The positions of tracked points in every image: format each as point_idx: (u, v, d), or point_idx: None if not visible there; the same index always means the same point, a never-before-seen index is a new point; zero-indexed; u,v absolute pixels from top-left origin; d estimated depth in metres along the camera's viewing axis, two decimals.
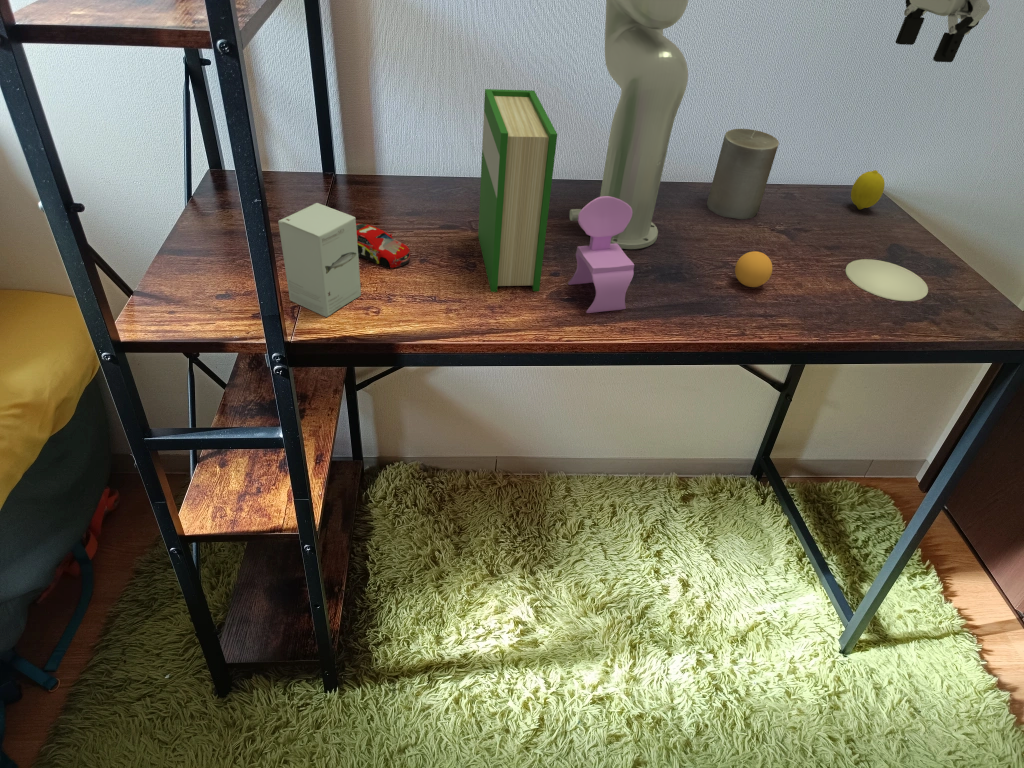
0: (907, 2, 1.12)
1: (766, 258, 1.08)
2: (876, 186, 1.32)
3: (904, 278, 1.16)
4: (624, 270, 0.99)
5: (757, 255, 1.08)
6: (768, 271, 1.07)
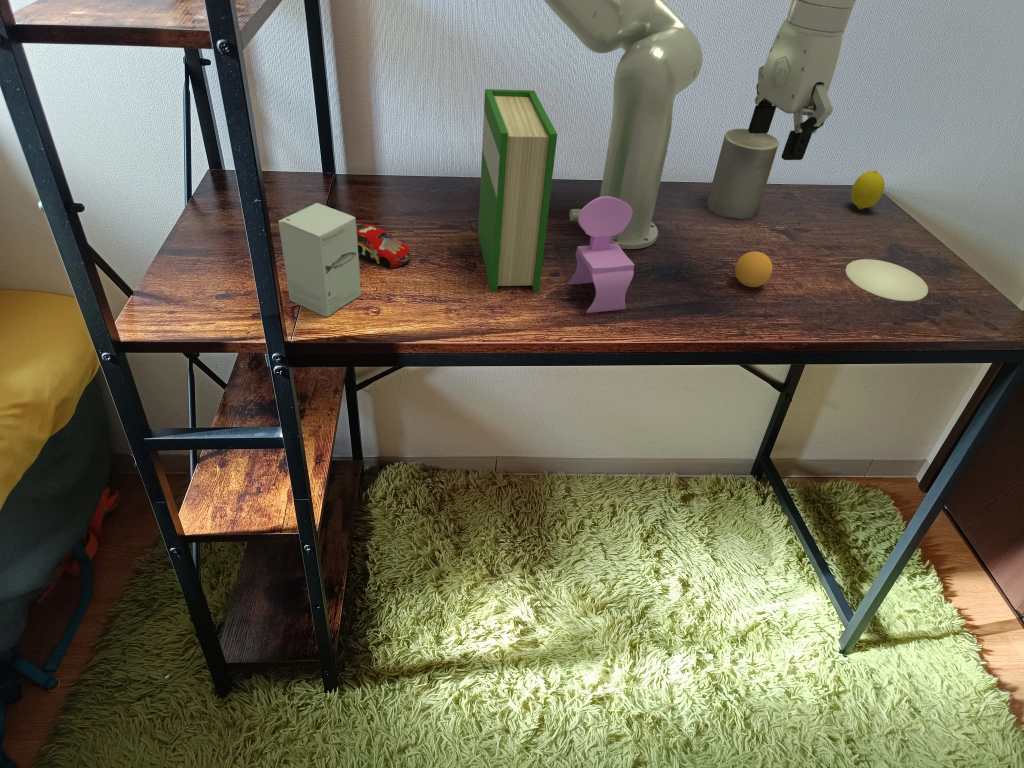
0: (758, 89, 1.03)
1: (766, 258, 1.08)
2: (876, 186, 1.32)
3: (904, 278, 1.16)
4: (624, 270, 0.99)
5: (757, 255, 1.08)
6: (768, 271, 1.07)
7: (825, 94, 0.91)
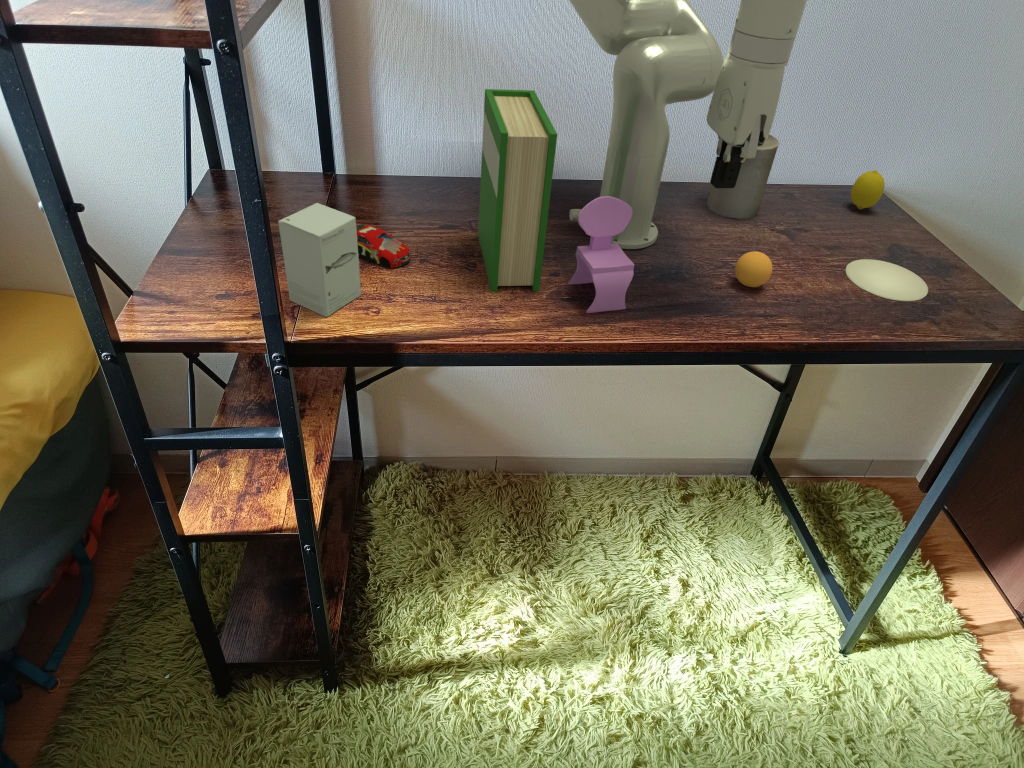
0: None
1: (766, 258, 1.08)
2: (876, 186, 1.32)
3: (904, 278, 1.16)
4: (624, 270, 0.99)
5: (757, 255, 1.08)
6: (768, 271, 1.07)
7: (757, 137, 0.90)
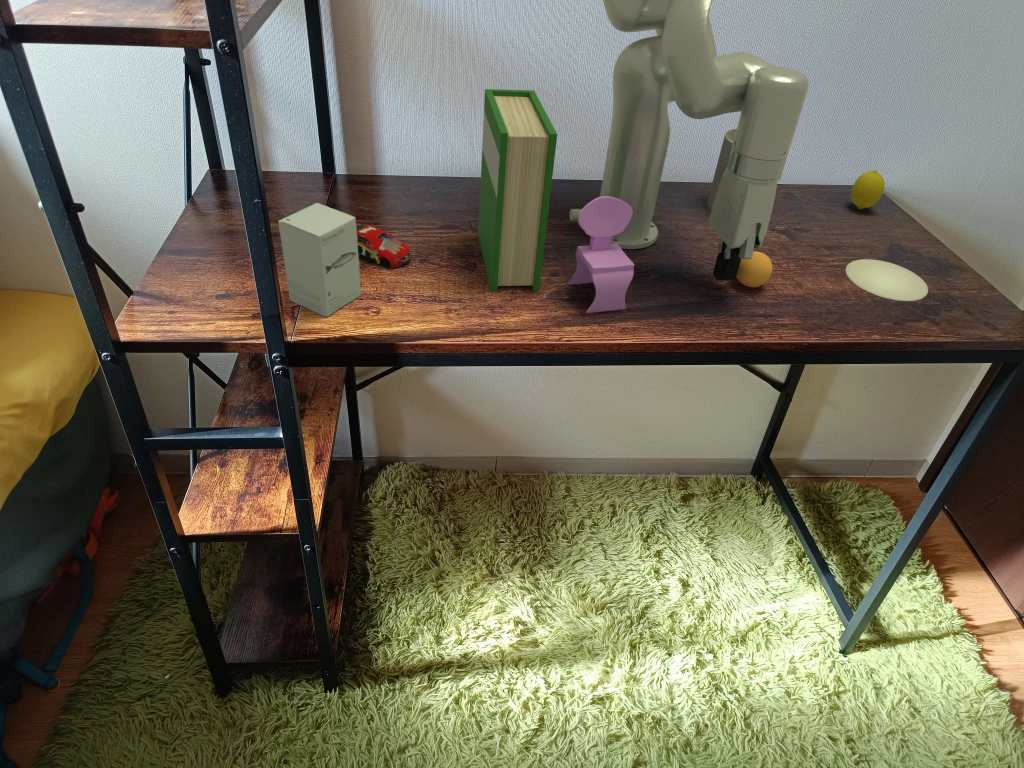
0: None
1: (766, 258, 1.08)
2: (876, 186, 1.32)
3: (904, 278, 1.16)
4: (624, 270, 0.99)
5: (757, 255, 1.08)
6: (768, 271, 1.07)
7: (753, 241, 1.00)
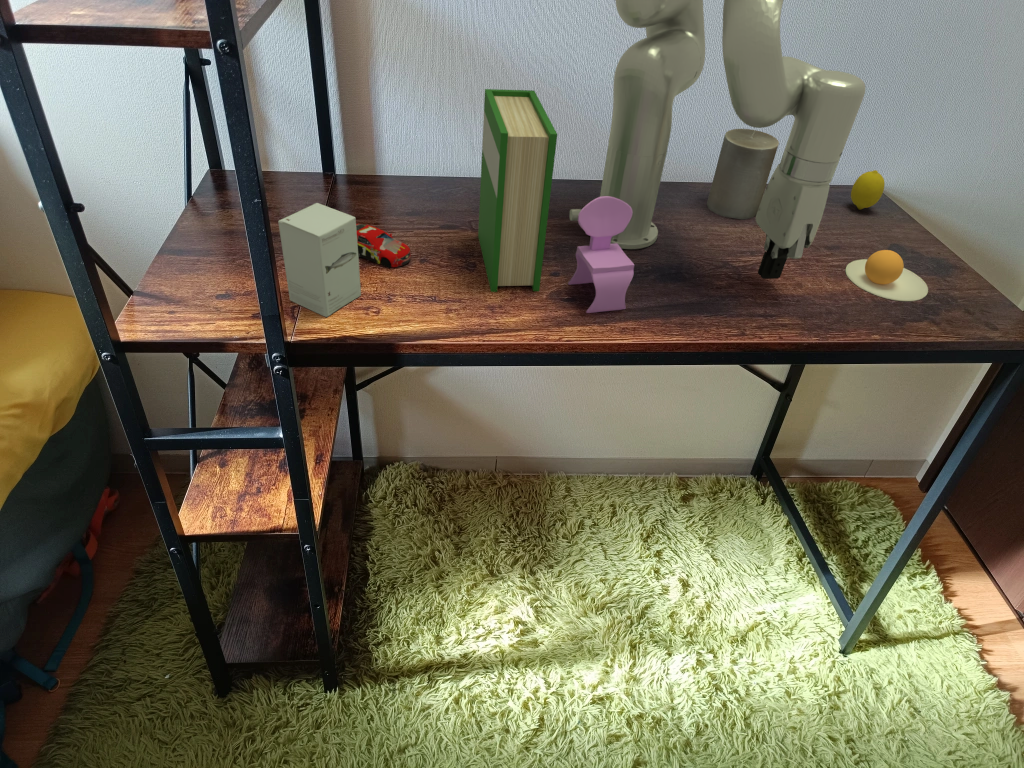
0: (767, 236, 1.09)
1: None
2: (876, 186, 1.32)
3: (904, 278, 1.16)
4: (624, 270, 0.99)
5: None
6: (893, 281, 1.13)
7: (803, 241, 1.02)
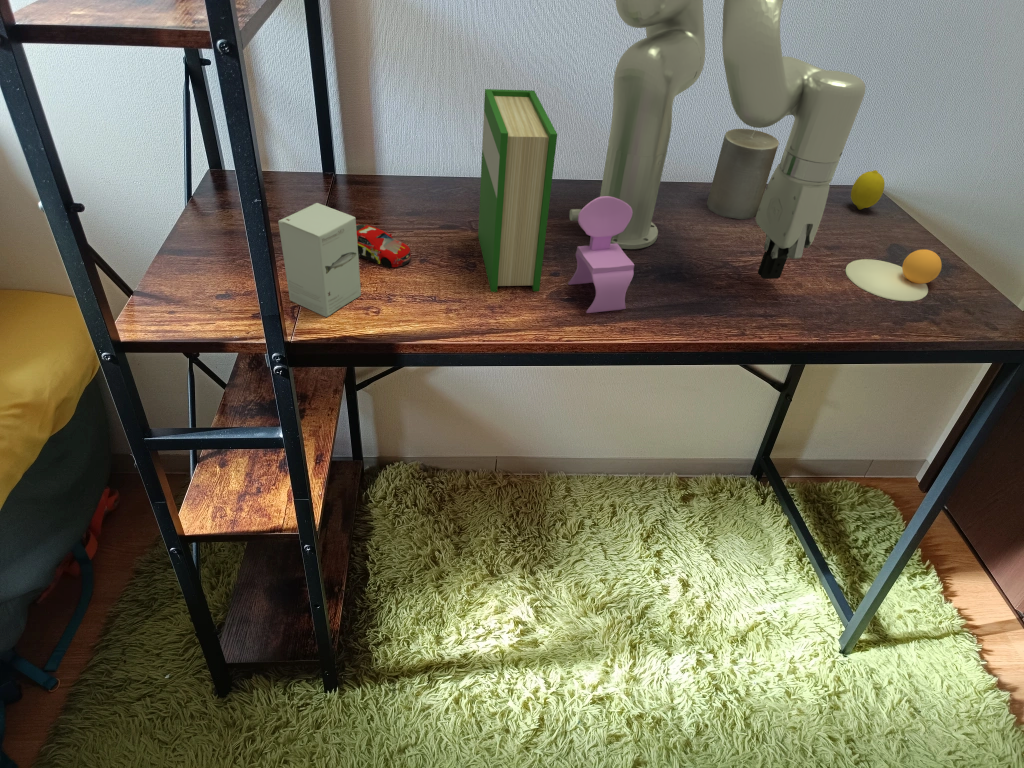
0: (767, 236, 1.09)
1: (910, 271, 1.14)
2: (876, 186, 1.32)
3: (904, 278, 1.16)
4: (624, 270, 0.99)
5: (907, 277, 1.15)
6: (923, 272, 1.12)
7: (803, 241, 1.02)
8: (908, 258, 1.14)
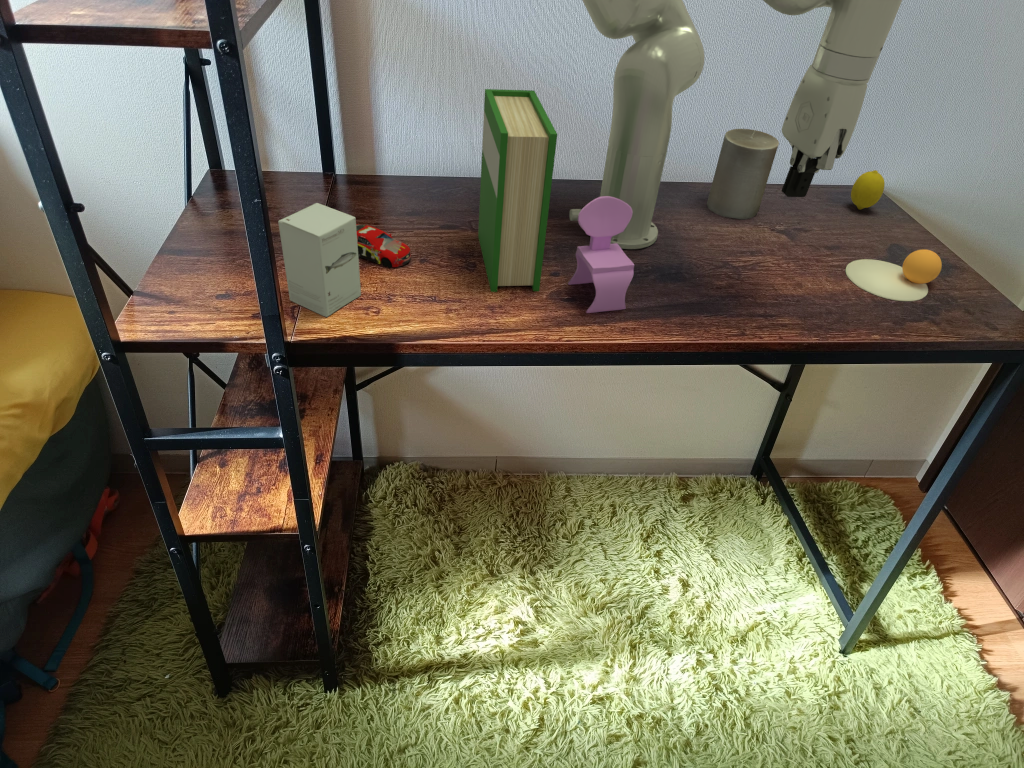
0: None
1: (910, 271, 1.14)
2: (876, 186, 1.32)
3: (904, 278, 1.16)
4: (624, 270, 0.99)
5: (907, 277, 1.15)
6: (924, 272, 1.12)
7: (835, 150, 0.94)
8: (908, 258, 1.14)
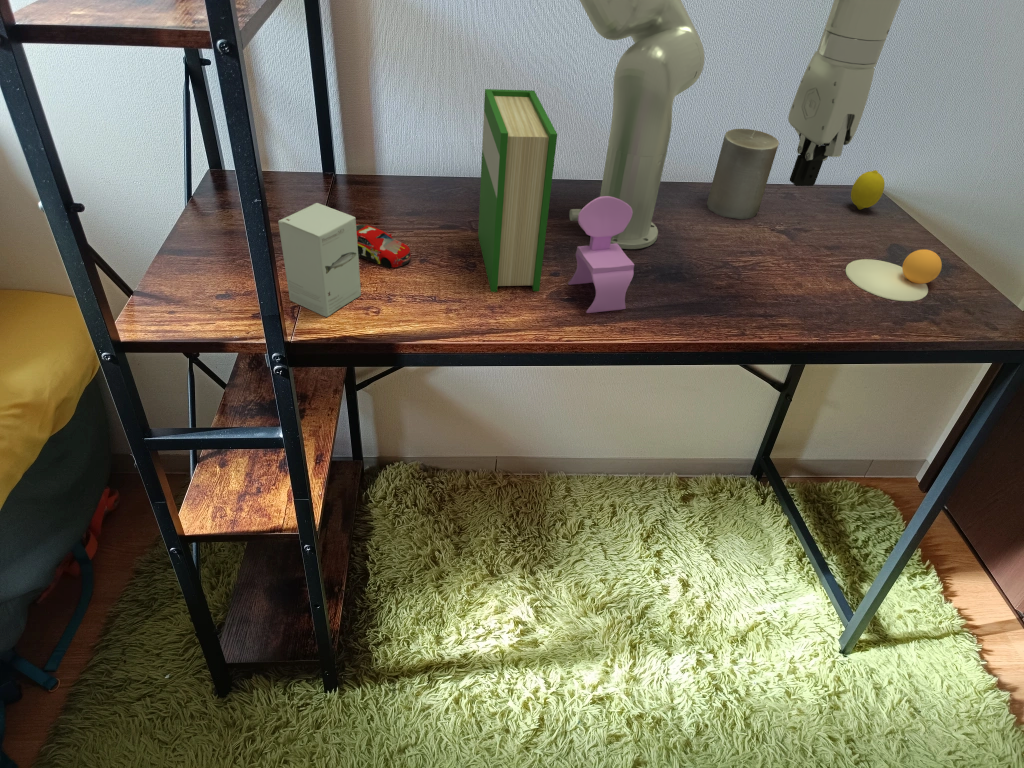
0: None
1: (910, 271, 1.14)
2: (876, 186, 1.32)
3: (904, 278, 1.16)
4: (624, 270, 0.99)
5: (907, 277, 1.15)
6: (924, 272, 1.12)
7: (843, 136, 0.92)
8: (908, 258, 1.14)
